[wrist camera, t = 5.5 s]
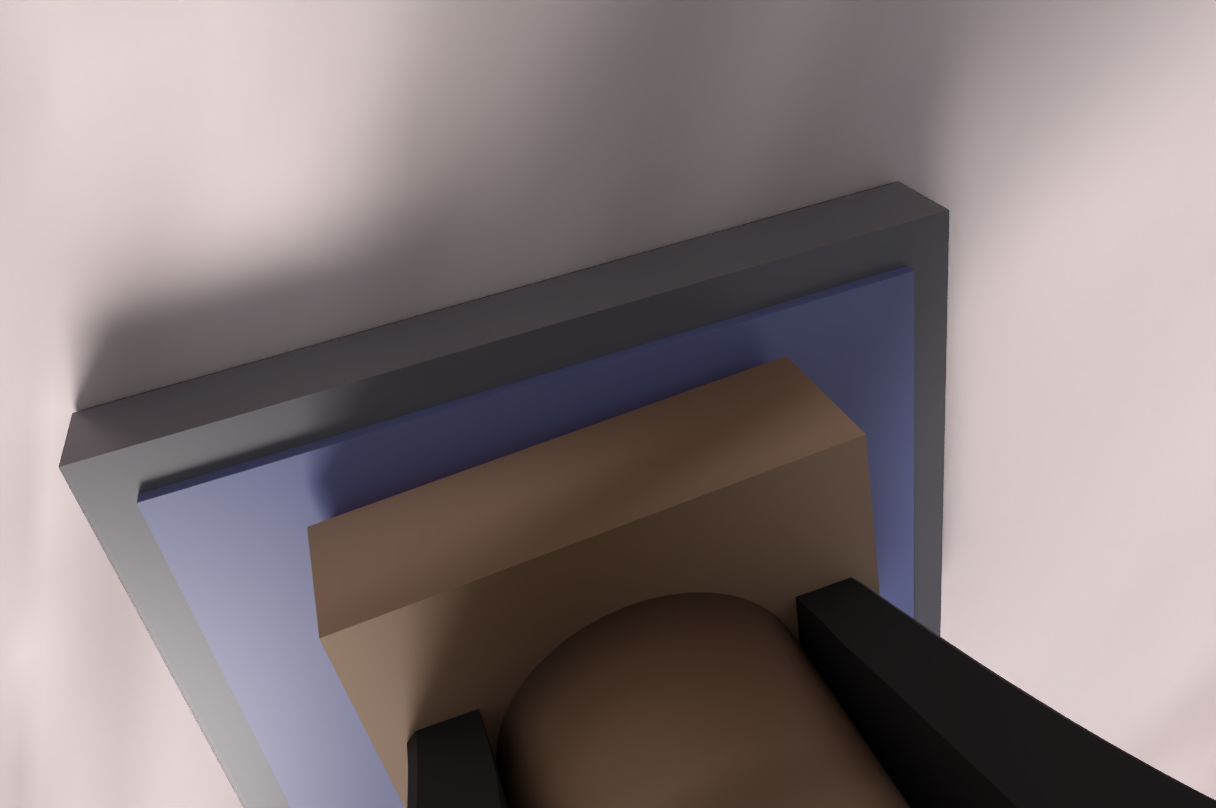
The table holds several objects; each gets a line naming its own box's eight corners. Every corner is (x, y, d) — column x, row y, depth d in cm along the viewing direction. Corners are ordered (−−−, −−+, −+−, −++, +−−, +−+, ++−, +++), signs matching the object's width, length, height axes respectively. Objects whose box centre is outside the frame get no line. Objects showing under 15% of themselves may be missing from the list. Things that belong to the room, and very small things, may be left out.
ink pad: (898, 181, 12) (957, 214, 11) (901, 628, 15) (945, 682, 15) (73, 413, 10) (55, 476, 9) (297, 848, 14) (303, 925, 13)
